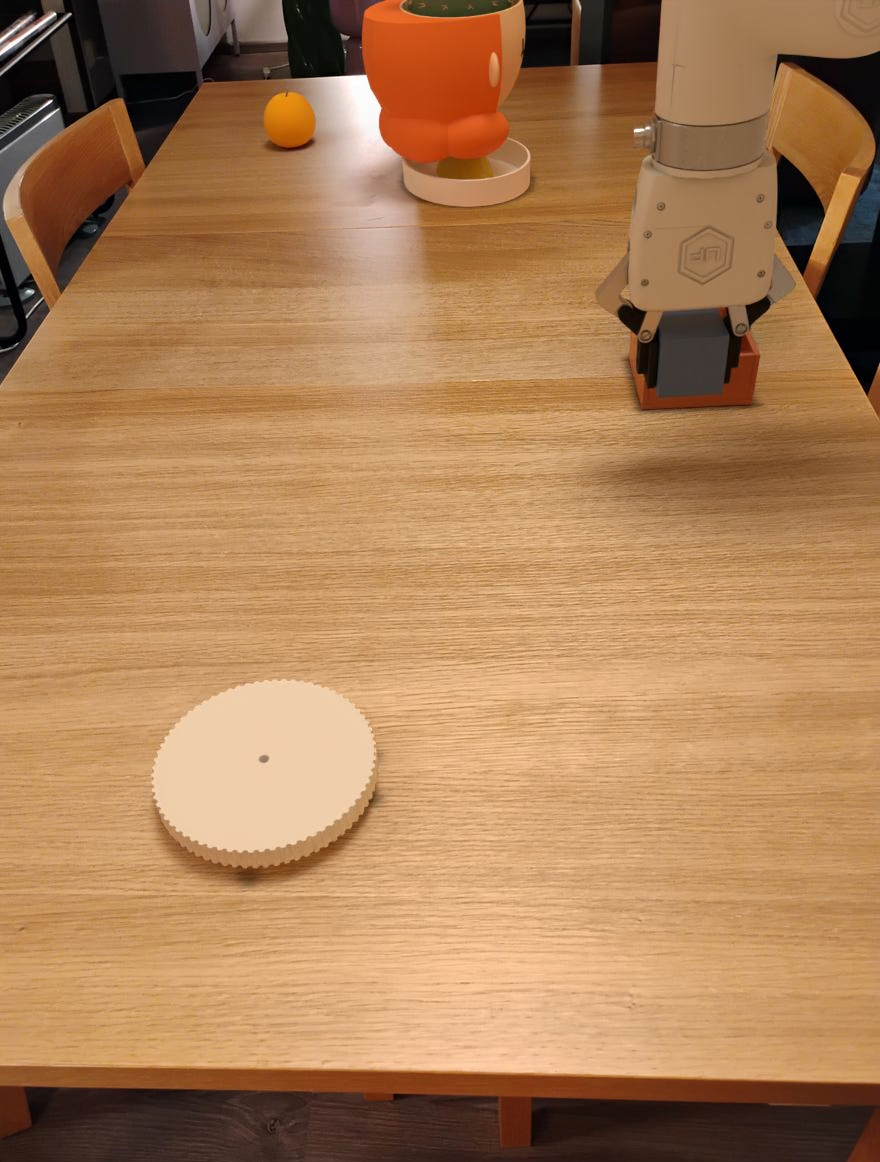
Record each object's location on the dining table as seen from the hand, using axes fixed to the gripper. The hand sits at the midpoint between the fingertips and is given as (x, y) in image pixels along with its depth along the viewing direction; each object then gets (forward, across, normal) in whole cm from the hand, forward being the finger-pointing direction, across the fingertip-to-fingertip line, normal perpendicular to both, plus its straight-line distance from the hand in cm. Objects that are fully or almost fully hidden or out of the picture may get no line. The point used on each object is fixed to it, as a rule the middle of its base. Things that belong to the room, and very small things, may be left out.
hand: (685, 375), depth 82 cm
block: (0, 0, 0) cm, 0 cm away
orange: (+8, -45, +94) cm, 105 cm away
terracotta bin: (+9, +3, +14) cm, 17 cm away
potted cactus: (+8, -20, +72) cm, 76 cm away
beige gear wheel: (+8, -31, -34) cm, 47 cm away
